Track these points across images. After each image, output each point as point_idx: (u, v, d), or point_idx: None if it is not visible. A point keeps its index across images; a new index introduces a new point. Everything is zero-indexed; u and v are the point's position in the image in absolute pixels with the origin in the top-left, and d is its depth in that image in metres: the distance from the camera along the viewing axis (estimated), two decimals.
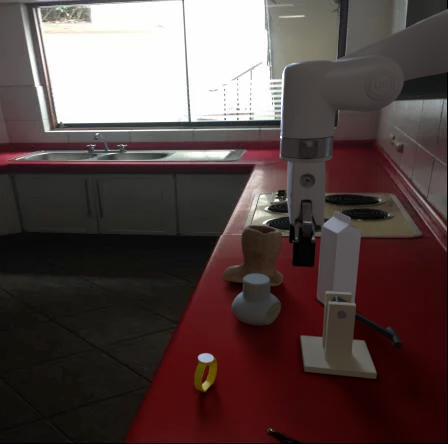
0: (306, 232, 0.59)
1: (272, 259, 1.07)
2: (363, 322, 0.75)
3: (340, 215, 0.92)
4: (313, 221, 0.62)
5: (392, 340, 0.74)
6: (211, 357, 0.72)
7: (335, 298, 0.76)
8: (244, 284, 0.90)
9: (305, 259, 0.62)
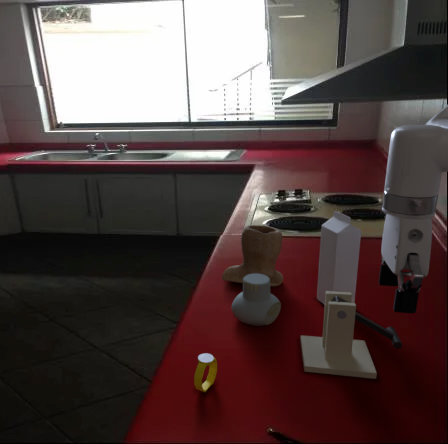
0: (415, 284, 0.63)
1: (272, 259, 1.07)
2: (363, 322, 0.75)
3: (340, 215, 0.92)
4: None
5: (392, 340, 0.74)
6: (211, 357, 0.72)
7: (335, 298, 0.76)
8: (244, 284, 0.90)
9: (408, 306, 0.67)
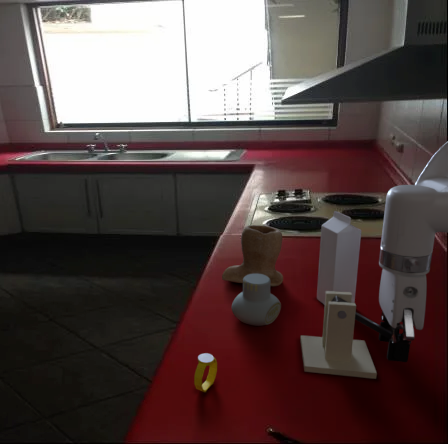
0: (406, 340, 0.69)
1: (272, 259, 1.07)
2: (363, 322, 0.75)
3: (340, 215, 0.92)
4: None
5: None
6: (211, 357, 0.72)
7: (335, 298, 0.76)
8: (244, 284, 0.90)
9: (400, 356, 0.72)
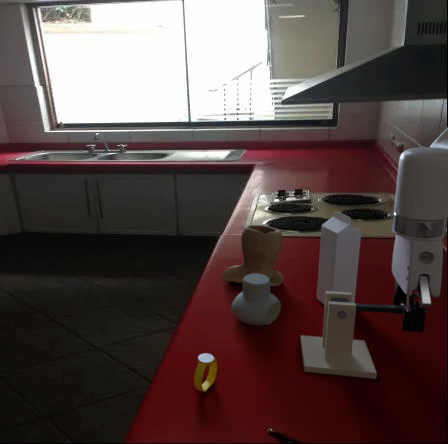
0: (422, 308, 0.66)
1: (272, 259, 1.07)
2: (369, 310, 0.74)
3: (340, 215, 0.92)
4: None
5: None
6: (211, 357, 0.72)
7: (331, 301, 0.76)
8: (244, 284, 0.90)
9: (416, 326, 0.70)
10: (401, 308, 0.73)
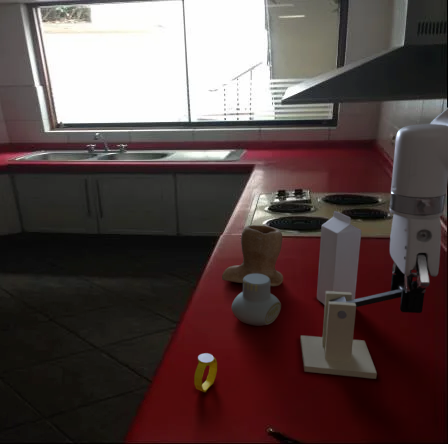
0: (420, 287, 0.65)
1: (272, 259, 1.07)
2: (368, 302, 0.74)
3: (340, 215, 0.92)
4: None
5: None
6: (211, 357, 0.72)
7: None
8: (244, 284, 0.90)
9: (415, 306, 0.69)
10: (399, 292, 0.72)
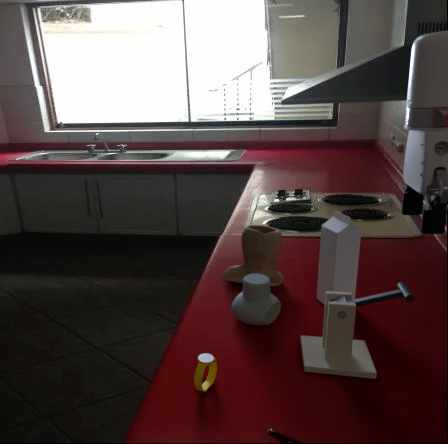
0: (444, 198, 0.60)
1: (272, 259, 1.07)
2: (368, 302, 0.74)
3: (340, 215, 0.92)
4: None
5: None
6: (211, 357, 0.72)
7: None
8: (244, 284, 0.90)
9: (436, 226, 0.64)
10: (399, 292, 0.72)
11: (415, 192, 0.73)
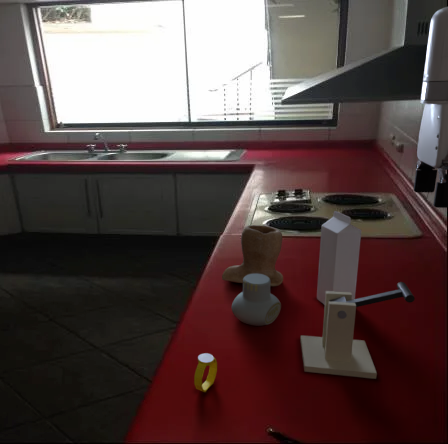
0: None
1: (272, 259, 1.07)
2: (368, 302, 0.74)
3: (340, 215, 0.92)
4: None
5: None
6: (211, 357, 0.72)
7: None
8: (244, 284, 0.90)
9: None
10: (399, 292, 0.72)
11: (428, 169, 0.73)
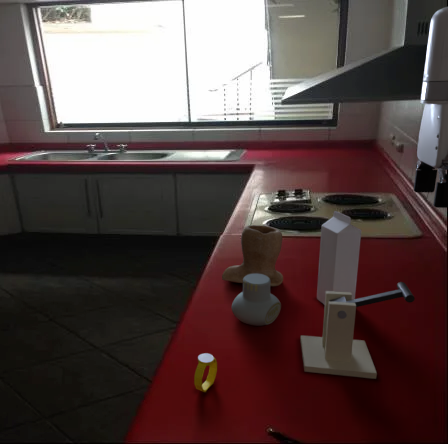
0: None
1: (272, 259, 1.07)
2: (368, 302, 0.74)
3: (340, 215, 0.92)
4: None
5: None
6: (211, 357, 0.72)
7: None
8: (244, 284, 0.90)
9: None
10: (399, 292, 0.72)
11: (428, 169, 0.73)
